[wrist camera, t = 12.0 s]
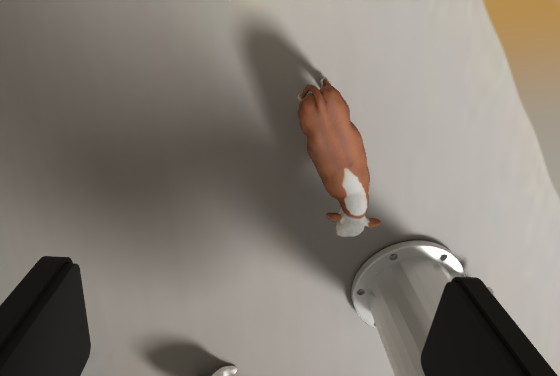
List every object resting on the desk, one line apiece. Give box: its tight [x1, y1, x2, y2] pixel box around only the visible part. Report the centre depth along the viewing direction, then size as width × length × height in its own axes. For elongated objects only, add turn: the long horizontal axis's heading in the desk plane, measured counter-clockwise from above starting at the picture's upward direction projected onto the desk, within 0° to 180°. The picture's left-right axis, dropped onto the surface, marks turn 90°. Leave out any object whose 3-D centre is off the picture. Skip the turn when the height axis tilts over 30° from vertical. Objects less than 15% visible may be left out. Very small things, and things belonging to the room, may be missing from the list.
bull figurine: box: [298, 77, 381, 237], centre depth 32 cm, size 4×13×8 cm, turn 16°
